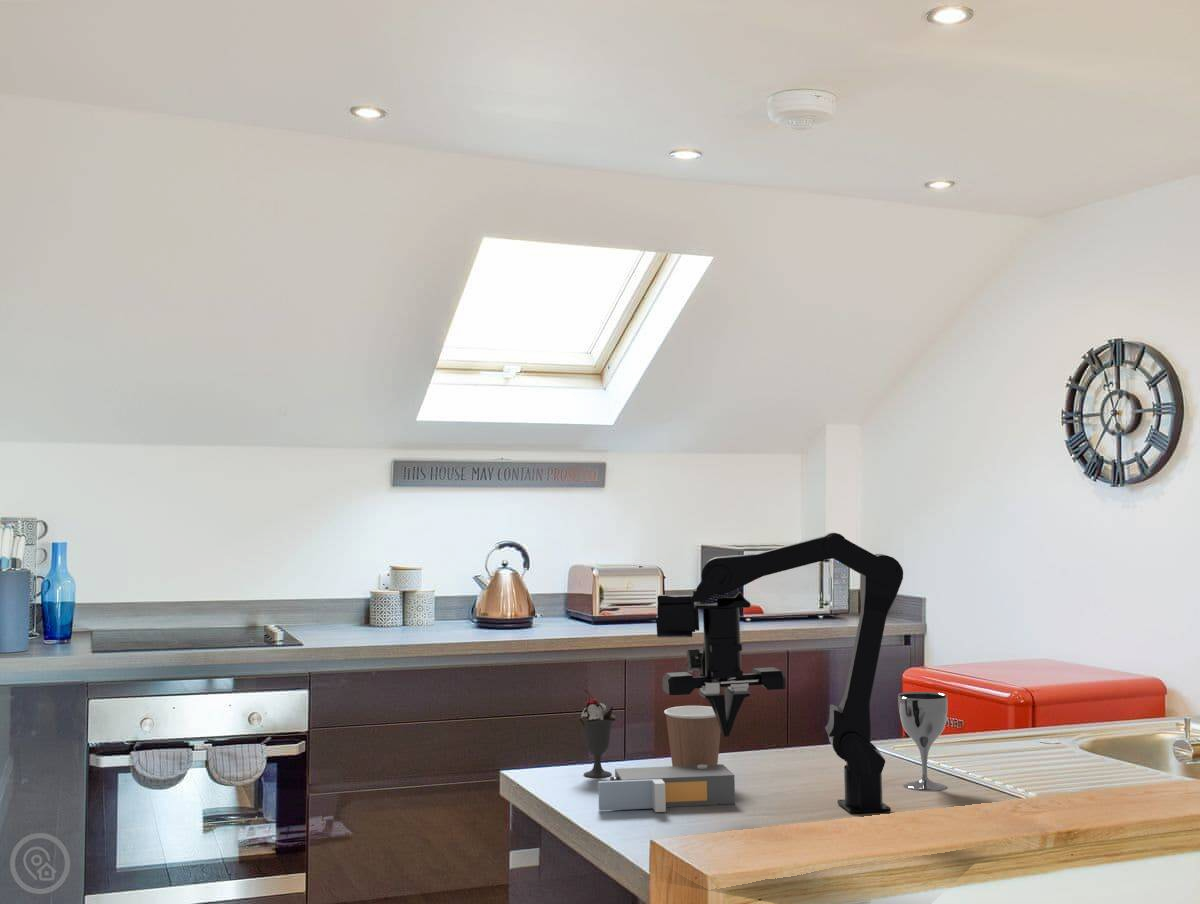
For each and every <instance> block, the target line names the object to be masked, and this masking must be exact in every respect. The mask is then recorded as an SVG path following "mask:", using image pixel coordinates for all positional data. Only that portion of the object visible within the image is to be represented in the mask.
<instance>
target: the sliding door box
mask: <svg viewBox="0 0 1200 904" xmlns="http://www.w3.org/2000/svg"><path fill="white" fill-rule="evenodd" d="M609 777H610V778H609V781H619V780H643V779H662V780H663V781H664V782H665V801H666V808H670V807H675V808H676V807H693V806H695V807H696V806H716V805H718V804H720V805H731V804H732V805H735V804H736V792H735V791H736V790H735V788H736V787H735V786H736V785H735V783H736V781H735V774H734V773H733V772H732V771H731V770H730V769H729V768H728V767H727V766H725V765H724V764H722V763H720V764H719V763H718V764H716V765H705V764H699V765H691V766H670V765H669V766H668V765H667V766H646V767H626V768H625V767H623V768H621V767H620V768H614V776H609Z"/></svg>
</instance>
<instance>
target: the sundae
mask: <svg viewBox="0 0 1200 904" xmlns="http://www.w3.org/2000/svg"><path fill="white" fill-rule="evenodd" d="M583 691H584V692H585V693H586V694H588V701H587V700H586V702H585V706H586V707H585V708H584V709H583V710H582V712H581V714H580V717H578V720H579V721H580V722H581V724H582V729H583V738H584V743H585V747H586V749H587V750H588V752H590V753H591V754H592V755H593V767H592V769H591V770H589V771H586V772H584V773H583V776H584V777H585V778H590V779H603V778H609V777H612V773H611V772H610V771H608V770H607V771H606V770H605V769H603V767H602V762H601V760H602V759H601V758H602V755H603V754H604V753H605V752H607V750H608V748H609V745H610V739H611V729H612V723H613V722H615V721H616V715H614V714H612V712H613V710H614V707H613V706H611V707H609V709H607V705H605V704H604V703H603V702H601V701H599V700H597V699H596V698H594V697H593V695H592V694H591V692H590V691H589V690H588V688H587V689H584V690H583ZM591 698H592V699H591Z"/></svg>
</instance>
